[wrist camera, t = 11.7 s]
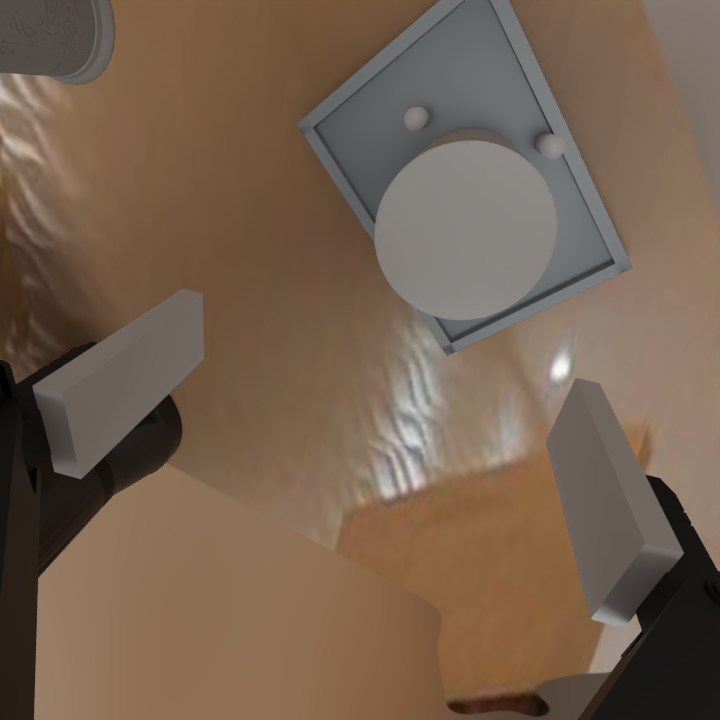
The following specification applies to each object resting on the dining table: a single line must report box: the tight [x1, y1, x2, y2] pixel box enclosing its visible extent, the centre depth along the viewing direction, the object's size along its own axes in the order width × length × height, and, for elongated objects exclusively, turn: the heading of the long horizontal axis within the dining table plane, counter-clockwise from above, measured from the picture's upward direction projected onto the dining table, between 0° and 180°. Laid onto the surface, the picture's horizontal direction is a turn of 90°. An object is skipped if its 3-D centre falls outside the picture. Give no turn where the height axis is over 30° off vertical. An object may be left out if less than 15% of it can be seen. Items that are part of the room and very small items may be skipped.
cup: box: [374, 128, 557, 320], centre depth 26 cm, size 8×8×12 cm
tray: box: [297, 0, 633, 356], centre depth 30 cm, size 20×14×5 cm
